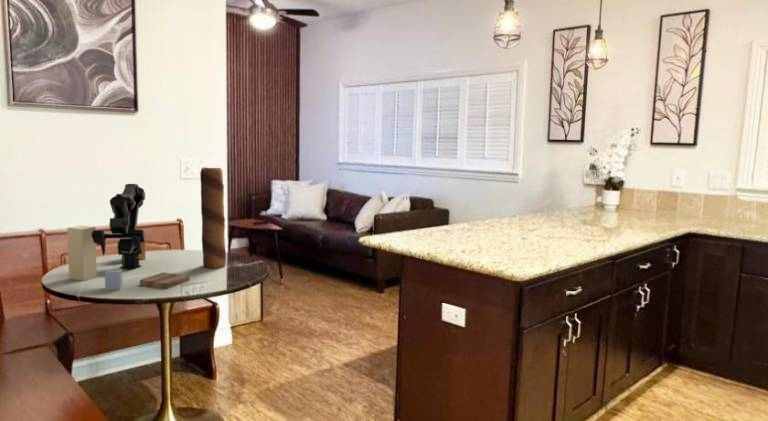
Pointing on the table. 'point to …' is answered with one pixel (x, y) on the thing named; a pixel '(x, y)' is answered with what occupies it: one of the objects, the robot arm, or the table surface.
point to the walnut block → (164, 280)
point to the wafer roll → (213, 217)
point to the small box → (142, 256)
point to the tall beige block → (81, 253)
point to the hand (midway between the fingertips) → (116, 254)
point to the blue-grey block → (113, 279)
